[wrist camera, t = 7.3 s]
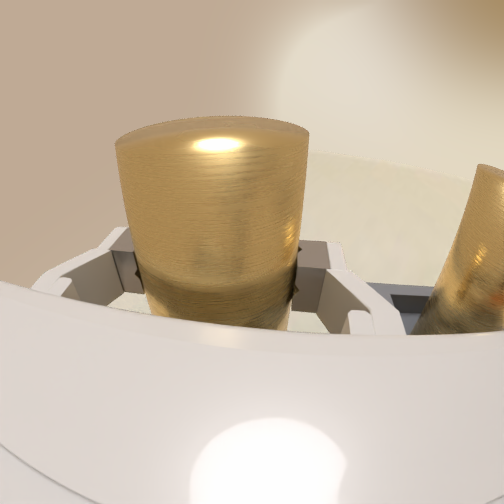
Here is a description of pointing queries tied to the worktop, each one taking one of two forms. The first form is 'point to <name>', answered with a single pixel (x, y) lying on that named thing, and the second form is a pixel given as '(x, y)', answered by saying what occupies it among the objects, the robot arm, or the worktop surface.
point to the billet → (216, 216)
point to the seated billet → (472, 266)
